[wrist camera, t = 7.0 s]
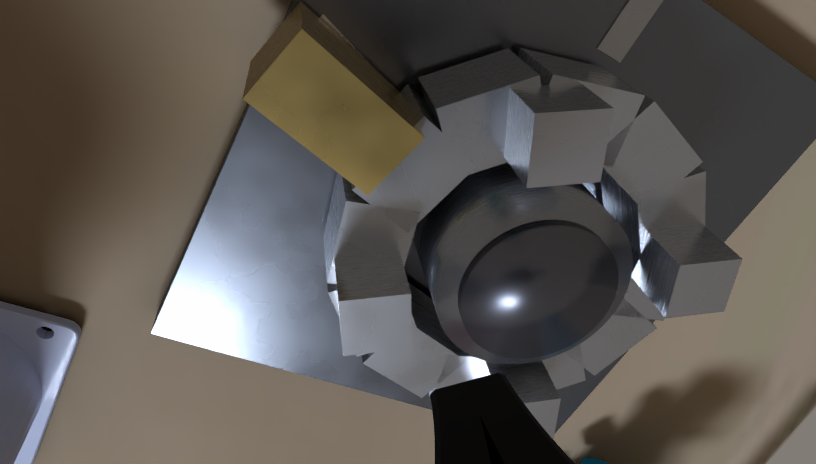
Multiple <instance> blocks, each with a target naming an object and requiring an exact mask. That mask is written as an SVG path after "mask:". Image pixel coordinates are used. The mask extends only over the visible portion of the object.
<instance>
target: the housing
mask: <svg viewBox="0 0 816 464" xmlns="http://www.w3.org/2000/svg"><path fill="white" fill-rule="evenodd" d="M413 239H414V243H415V247H416V250H417V253H418V256H419V259H420V263H421V266H422V269H423V272H424V275H425V278H426V281H427V285H428V288H429V291H430V294H431V297H432V300H433V303H434V307H435V310H436V313H437V316H438V319H439V322H440V324H441V326H442V329H443V330H444V332H445V333H446V335H447V336H448V338H449V339H450V340H451V341H452V342H453V343H454V344H455V345H456V346H457V347H458V348H460V349H461V350H462V351H464V352H465V353H467V354H469V355H471V356H473V357H475V358H478V359H481V360H484V361H488V362H492V363H499V364H525V363H531V362H537V361H541V360H545V359H548V358H551V357H554V356H557V355H559V354H562V353H564V352H566V351H568V350H570V349H572V348H574V347H575V346H577V345H579V344H580V343H582V342H584V341H585V340H586V339H588V338H589V337H591V336H592V335H593V334H594V333H596V332H597V331H598V330H599V329H600V328H601V327H602V326H603V325H604V324H605V323H606V322H607V321H608V320H609V319H610V318H611V316H612V315H613V314H614V312H615V311H616V310H617V308H618V307H619V305H620V303H621V302H622V300H623V298H624V296H625V294H626V292H627V289H628V286H629V283H630V280H631V275H632V269H633V256H632V250H631V245H630V243H629V240H628V237H627V235H626V233H625V232H624V230H623V228H622V227H621V226H620V225H619V223H618V222H617V221H616V220H615V219H614V218H613V217H612V215H611V214H610V213H609V212H608V211H607V210H606V209H605V208H604V207H603V206H602V204H601V203H600V202H599V201H598V200H597V199H596V198H595V197H594V196H593V195H592V193H591V192H590V191H589V190H588V189H587V188H586V187H585V186H584V185H583V183H582V184H570V185H558V186H546V187H534V188H526V187H525V185H524V184H523V182H522V181H521V180H520V178H519V177H518V175H517V174H516V173H515V171H514V170H513V169H512V167H511V166H510V164H509V163H508V162H507V163H504V164H501V165H498V166H494V167H491V168H488V169H485V170H482V171H479V172H476V173H473V174H470V175H467V176H466V177H465V178H464V179H463V180H462V181H461V182H460V183H459V184H458V185H457V186H456V187H455V188H454V189H453V190H452V191H451V192H450V193H449V194H448V195H447V196H446V197H445V198H443V199H442V200H441V201H440V202H439V203H438V204H437V205H436V206H435V207H434V208H433V209H432V210H431V211H430V212H429V213H428V214H427V215H426V216H425V217H424V218H423V219H422V220H421V221H419V222H418V223H417V226H416V229H415V232H414V236H413Z"/></svg>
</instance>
